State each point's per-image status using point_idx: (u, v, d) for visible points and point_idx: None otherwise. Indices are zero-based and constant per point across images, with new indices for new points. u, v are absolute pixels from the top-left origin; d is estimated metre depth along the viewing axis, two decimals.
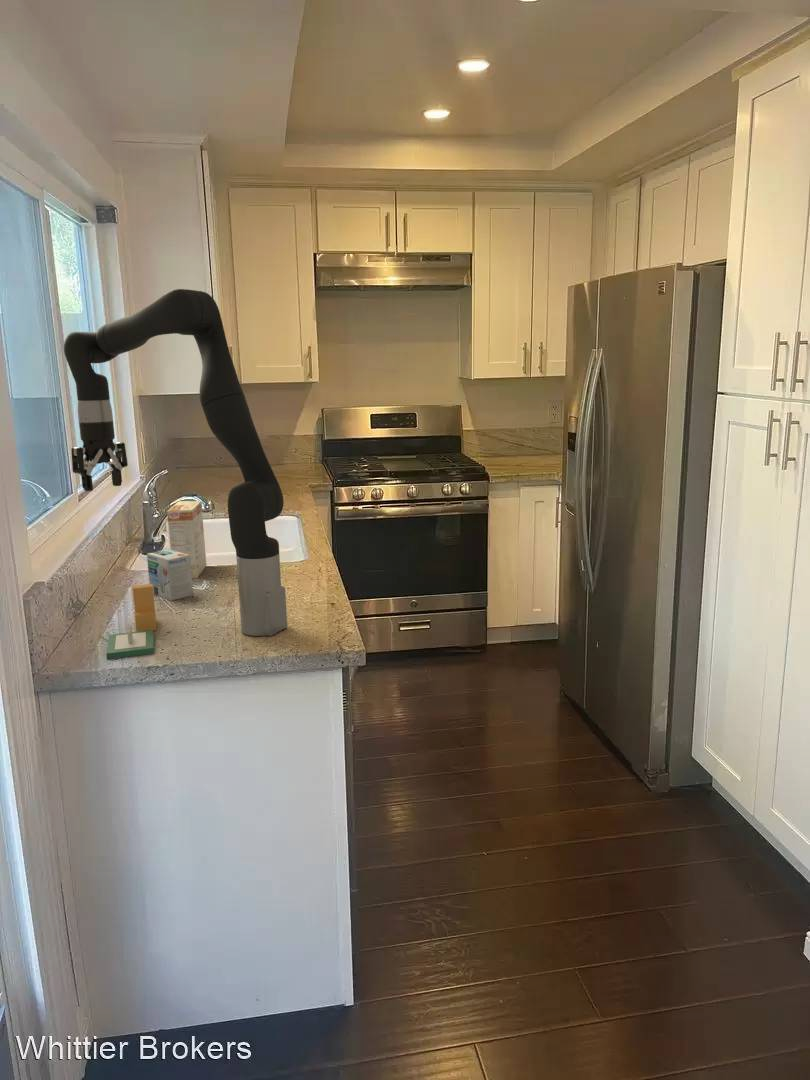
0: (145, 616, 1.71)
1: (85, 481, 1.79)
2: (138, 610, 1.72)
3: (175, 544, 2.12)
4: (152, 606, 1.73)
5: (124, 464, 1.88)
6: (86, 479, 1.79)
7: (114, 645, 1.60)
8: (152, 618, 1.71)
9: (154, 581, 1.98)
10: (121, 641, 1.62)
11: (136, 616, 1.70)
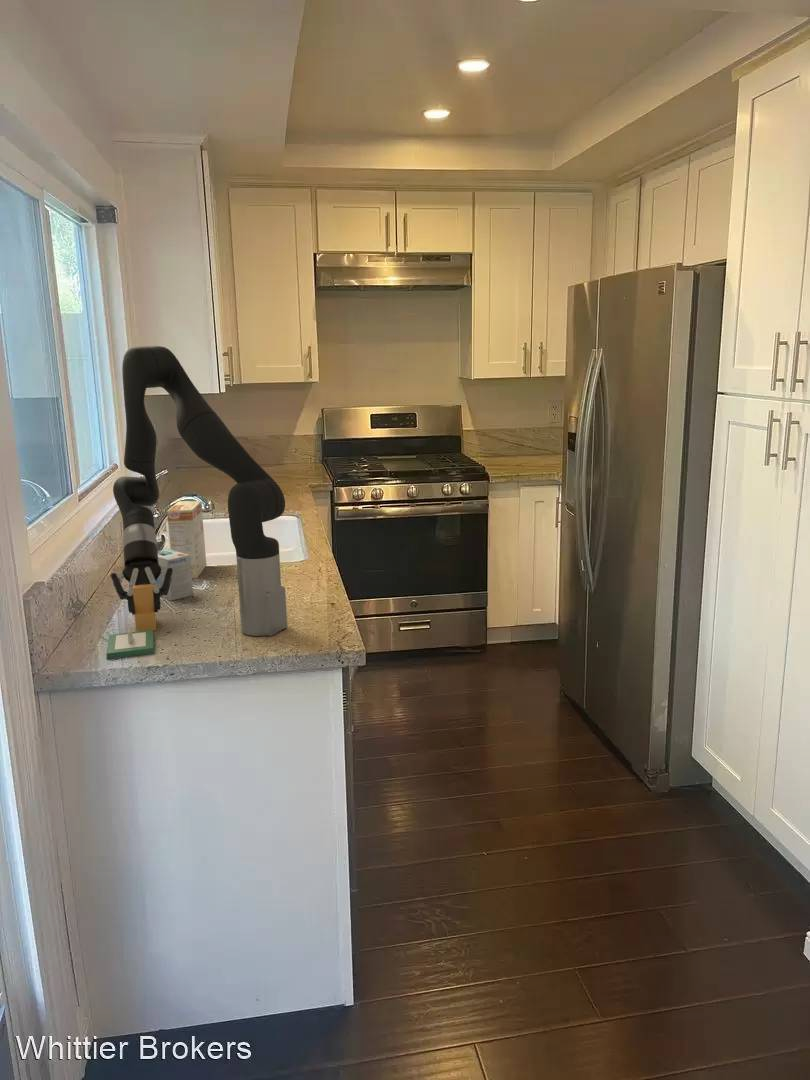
0: (145, 616, 1.71)
1: (128, 603, 1.72)
2: (138, 610, 1.72)
3: (175, 544, 2.12)
4: (152, 606, 1.73)
5: (162, 587, 1.75)
6: (128, 601, 1.72)
7: (114, 645, 1.60)
8: (152, 618, 1.71)
9: None
10: (121, 641, 1.62)
11: (136, 616, 1.70)
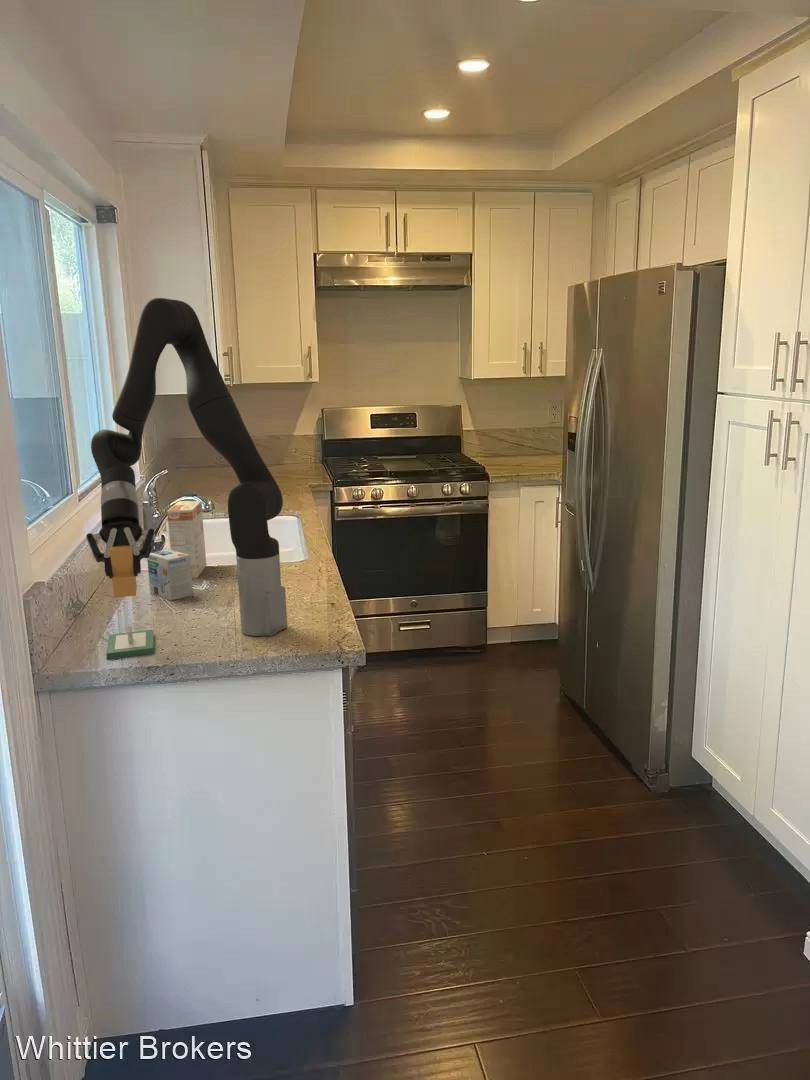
0: (123, 580, 1.56)
1: None
2: (116, 573, 1.57)
3: (175, 544, 2.12)
4: (131, 569, 1.58)
5: (143, 549, 1.60)
6: (105, 563, 1.57)
7: (114, 645, 1.60)
8: (131, 582, 1.56)
9: (154, 581, 1.98)
10: (121, 641, 1.62)
11: (113, 579, 1.55)
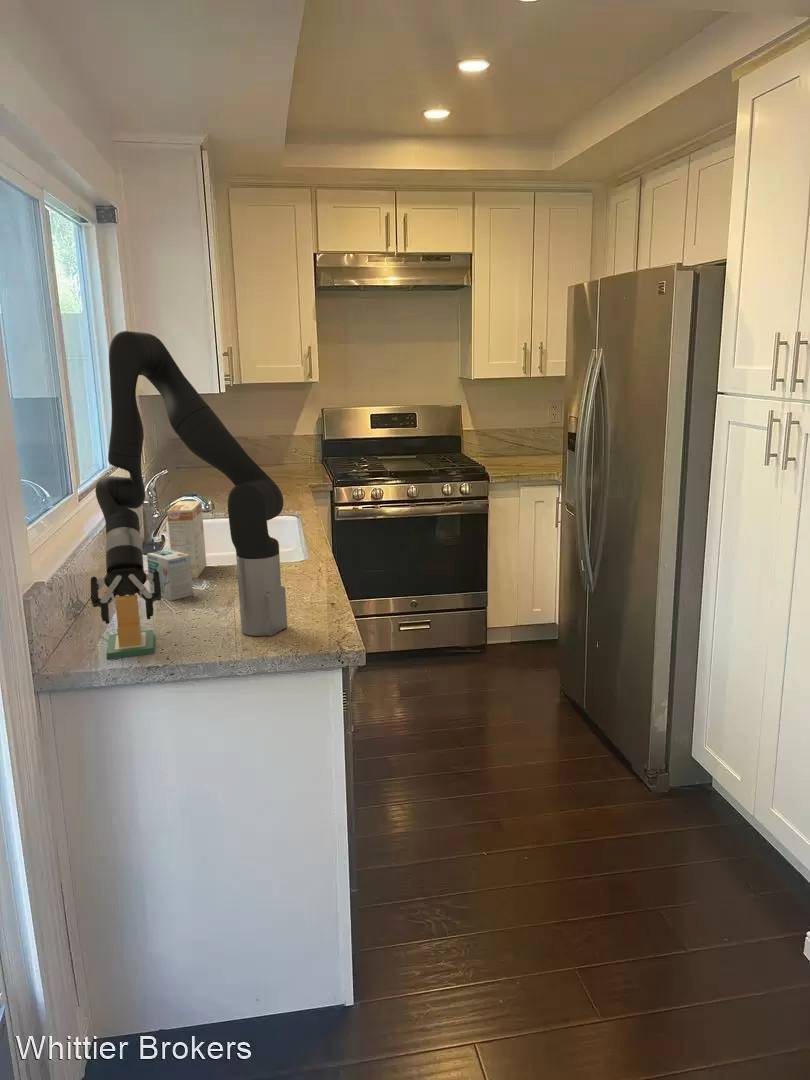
0: (128, 630, 1.58)
1: (101, 611, 1.59)
2: (121, 623, 1.60)
3: (175, 544, 2.12)
4: (136, 619, 1.60)
5: (155, 592, 1.63)
6: (102, 608, 1.59)
7: (114, 645, 1.60)
8: (136, 632, 1.58)
9: None
10: None
11: (119, 630, 1.57)
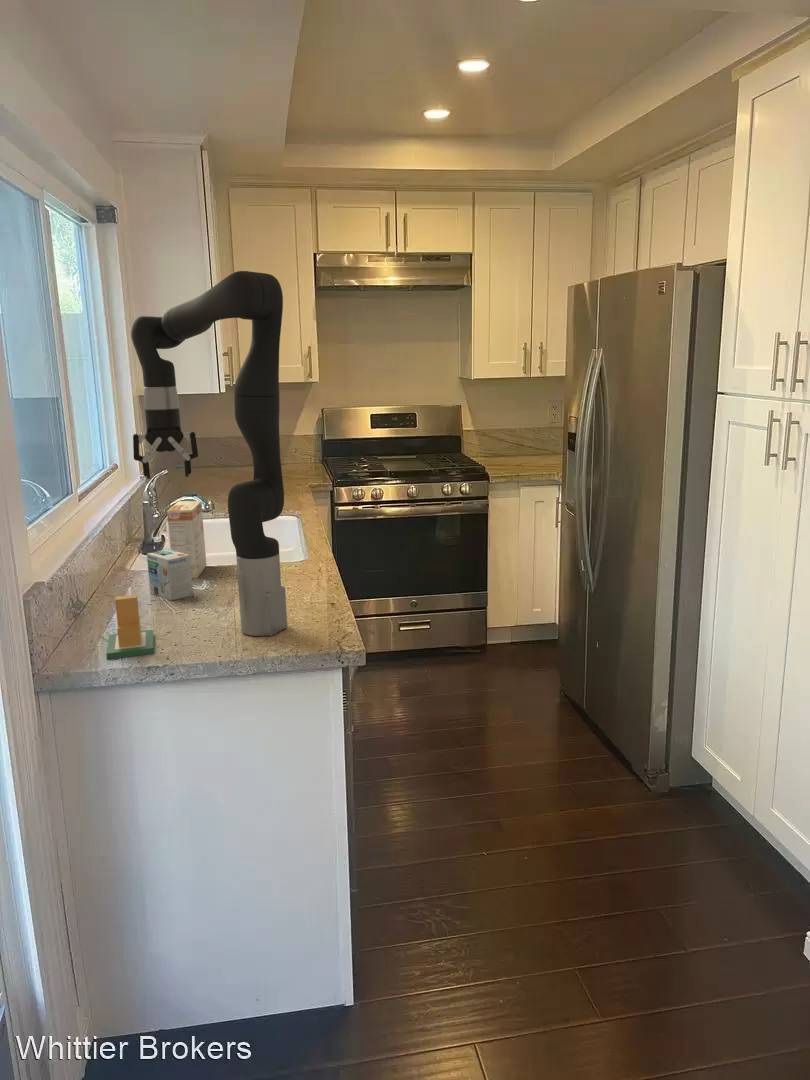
0: (128, 630, 1.58)
1: (143, 468, 1.78)
2: (121, 623, 1.60)
3: (175, 544, 2.12)
4: (136, 619, 1.60)
5: (193, 455, 1.80)
6: (143, 466, 1.77)
7: (114, 645, 1.60)
8: (136, 632, 1.58)
9: (154, 581, 1.98)
10: None
11: (119, 630, 1.57)
